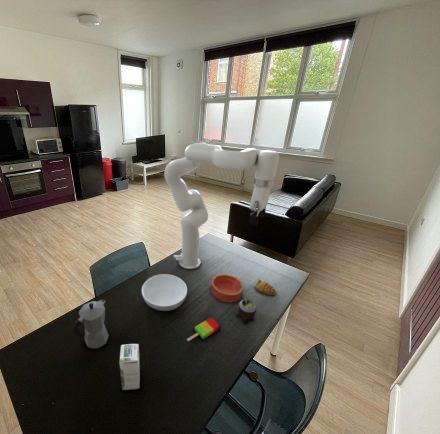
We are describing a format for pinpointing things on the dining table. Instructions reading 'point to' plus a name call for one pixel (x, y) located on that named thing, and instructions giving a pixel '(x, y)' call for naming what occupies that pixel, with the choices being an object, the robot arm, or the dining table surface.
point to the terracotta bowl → (226, 288)
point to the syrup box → (130, 366)
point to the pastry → (264, 287)
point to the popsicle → (205, 329)
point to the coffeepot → (92, 324)
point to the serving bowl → (164, 292)
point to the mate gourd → (246, 308)
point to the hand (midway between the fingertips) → (256, 220)
